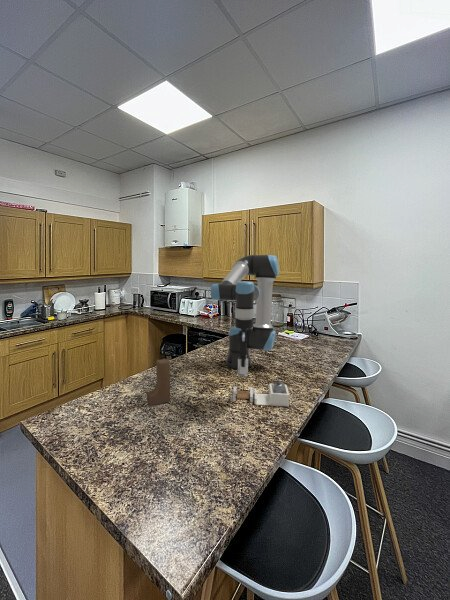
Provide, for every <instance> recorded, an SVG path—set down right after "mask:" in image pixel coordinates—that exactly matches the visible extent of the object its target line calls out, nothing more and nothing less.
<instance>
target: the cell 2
mask: <svg viewBox="0 0 450 600" xmlns="http://www.w3.org/2000/svg"><path fill="white" fill-rule="evenodd" d="M273 384H274V393H282V394H284V384H285V383H284V382H282V381H278V380H277V381H275V382H273Z"/></svg>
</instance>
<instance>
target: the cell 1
mask: <svg viewBox="0 0 450 600" xmlns="http://www.w3.org/2000/svg"><path fill="white" fill-rule="evenodd" d="M239 358H240V357H239ZM248 374H249V367H248V358H247V357H246V374H240V359H238V369H237V375H238V377H243V378H244V377H247V376H249V375H248Z"/></svg>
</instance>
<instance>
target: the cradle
mask: <svg viewBox="0 0 450 600" xmlns="http://www.w3.org/2000/svg"><path fill="white" fill-rule="evenodd" d="M249 388H250V389H249V403H254V388H253V387H249ZM237 389H238V387H237V386H233V391H232V402H236V400H237V391H238V390H237Z"/></svg>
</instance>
